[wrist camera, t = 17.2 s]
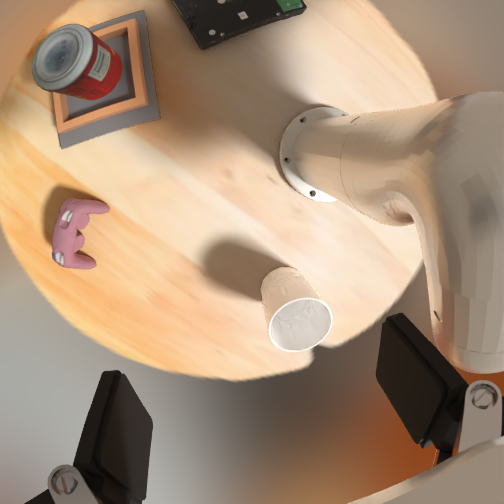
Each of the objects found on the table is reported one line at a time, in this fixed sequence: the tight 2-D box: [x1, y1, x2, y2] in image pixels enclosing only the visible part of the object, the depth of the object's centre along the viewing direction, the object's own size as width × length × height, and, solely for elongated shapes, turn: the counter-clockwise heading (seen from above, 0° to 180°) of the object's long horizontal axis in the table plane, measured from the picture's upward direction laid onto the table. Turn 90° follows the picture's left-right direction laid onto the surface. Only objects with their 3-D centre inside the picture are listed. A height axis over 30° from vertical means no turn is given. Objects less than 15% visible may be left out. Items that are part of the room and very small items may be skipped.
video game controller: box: [52, 198, 110, 269], centre depth 34 cm, size 10×5×7 cm, turn 156°
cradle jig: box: [53, 10, 160, 149], centre depth 28 cm, size 14×16×3 cm
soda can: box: [32, 24, 123, 100], centre depth 23 cm, size 7×7×12 cm
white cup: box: [260, 267, 332, 352], centre depth 39 cm, size 8×8×10 cm
